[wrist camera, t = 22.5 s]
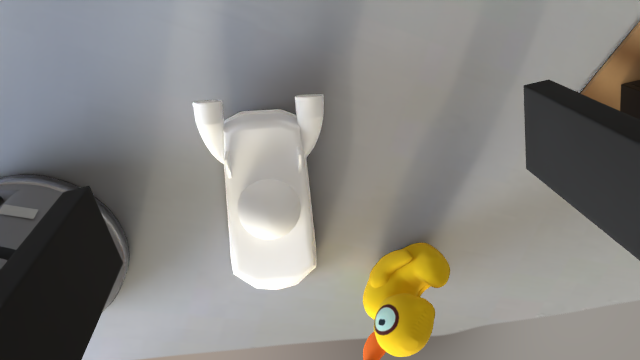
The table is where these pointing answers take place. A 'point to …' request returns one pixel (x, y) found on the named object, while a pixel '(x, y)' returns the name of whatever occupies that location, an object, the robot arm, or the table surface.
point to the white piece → (266, 187)
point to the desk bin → (630, 98)
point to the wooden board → (616, 72)
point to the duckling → (402, 300)
